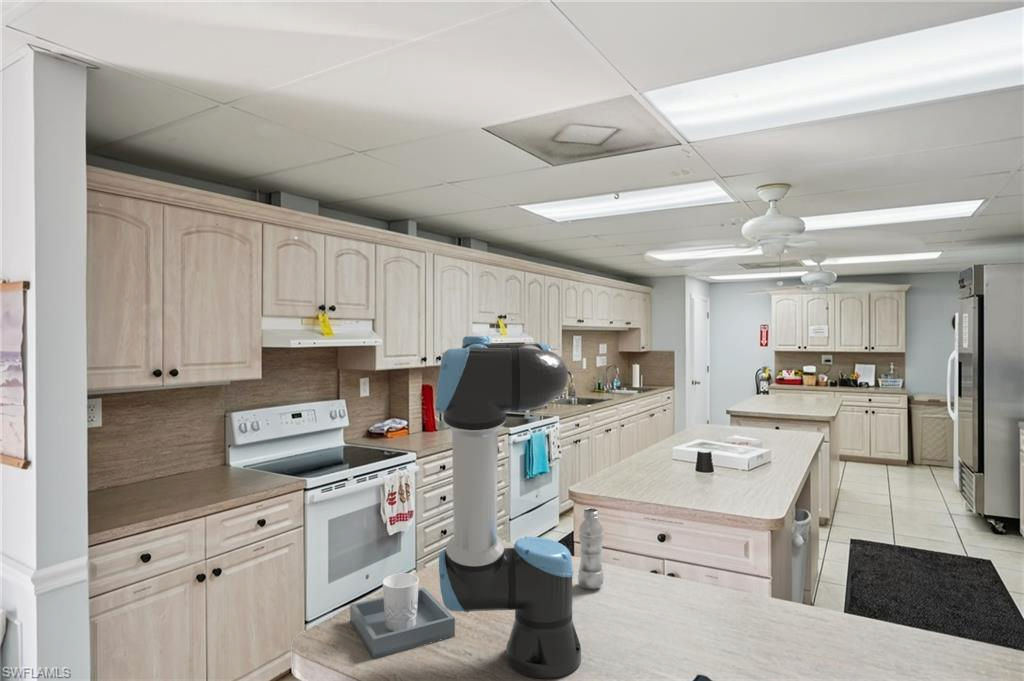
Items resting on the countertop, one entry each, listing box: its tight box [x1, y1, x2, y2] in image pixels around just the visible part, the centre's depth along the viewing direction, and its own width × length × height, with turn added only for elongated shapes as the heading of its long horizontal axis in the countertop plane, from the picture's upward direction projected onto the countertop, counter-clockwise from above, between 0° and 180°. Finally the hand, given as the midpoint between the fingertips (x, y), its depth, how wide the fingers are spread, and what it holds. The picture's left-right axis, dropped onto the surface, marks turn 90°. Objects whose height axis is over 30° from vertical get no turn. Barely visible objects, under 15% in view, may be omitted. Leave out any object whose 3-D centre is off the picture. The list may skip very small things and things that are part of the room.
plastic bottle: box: [577, 507, 605, 590], centre depth 153 cm, size 6×7×20 cm
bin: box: [349, 587, 456, 660], centre depth 132 cm, size 18×18×4 cm
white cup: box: [382, 572, 420, 632], centre depth 131 cm, size 8×8×10 cm
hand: (476, 474), depth 156 cm, fingers open, 13 cm apart
